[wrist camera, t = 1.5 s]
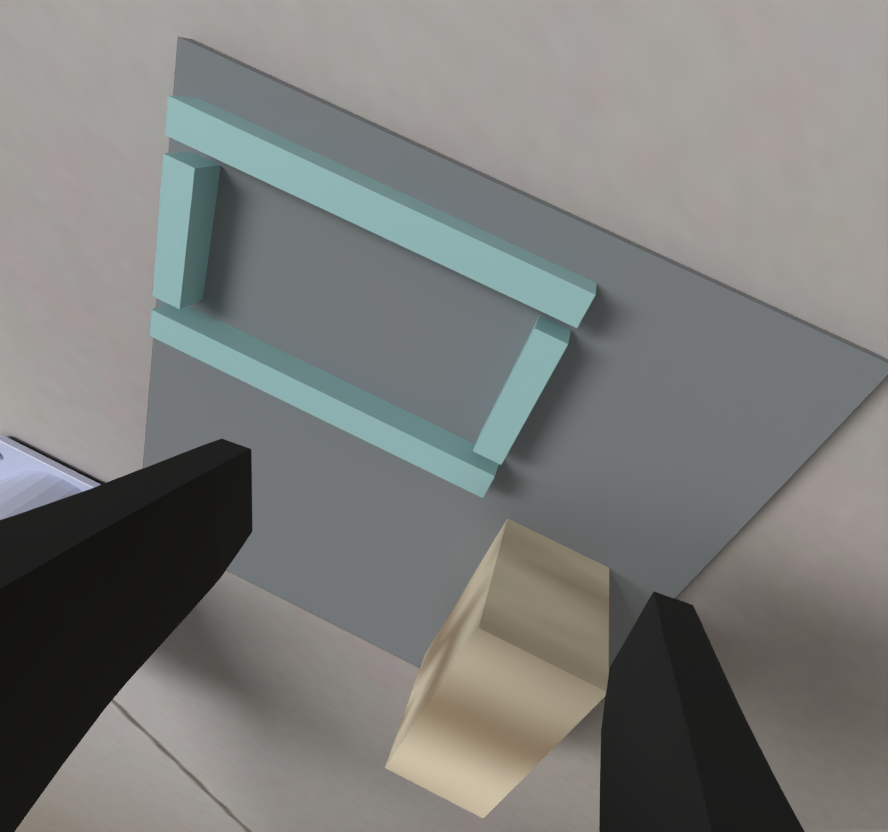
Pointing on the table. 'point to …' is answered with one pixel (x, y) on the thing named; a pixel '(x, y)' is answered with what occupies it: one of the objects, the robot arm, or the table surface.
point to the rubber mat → (478, 386)
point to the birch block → (507, 671)
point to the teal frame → (385, 214)
